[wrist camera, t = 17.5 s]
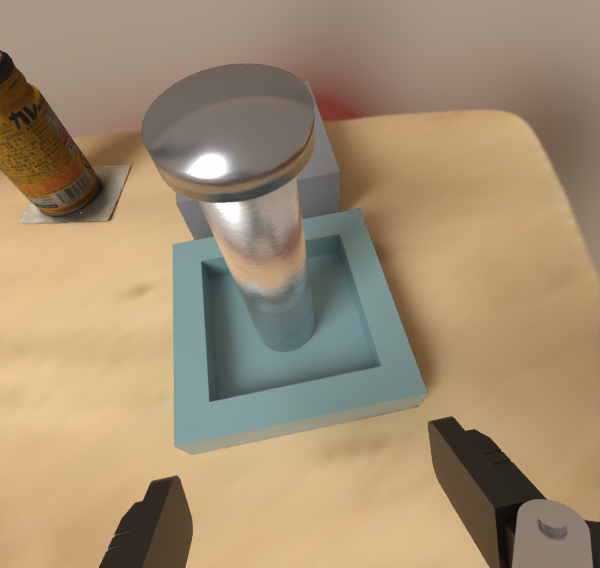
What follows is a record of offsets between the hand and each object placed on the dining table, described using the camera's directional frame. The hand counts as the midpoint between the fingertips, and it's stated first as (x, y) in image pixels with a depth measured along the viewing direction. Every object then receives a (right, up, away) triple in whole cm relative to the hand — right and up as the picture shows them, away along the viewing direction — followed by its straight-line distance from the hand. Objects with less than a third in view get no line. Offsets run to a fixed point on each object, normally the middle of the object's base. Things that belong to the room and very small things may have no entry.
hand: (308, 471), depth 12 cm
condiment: (-21, +14, +24) cm, 35 cm away
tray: (-1, +3, +15) cm, 15 cm away
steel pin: (-1, +3, +14) cm, 15 cm away
